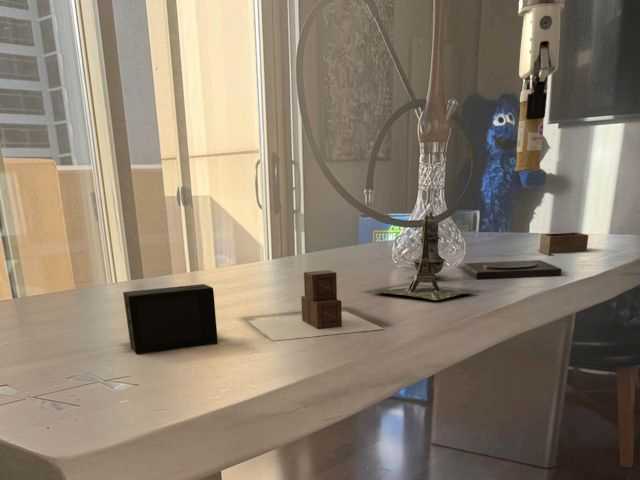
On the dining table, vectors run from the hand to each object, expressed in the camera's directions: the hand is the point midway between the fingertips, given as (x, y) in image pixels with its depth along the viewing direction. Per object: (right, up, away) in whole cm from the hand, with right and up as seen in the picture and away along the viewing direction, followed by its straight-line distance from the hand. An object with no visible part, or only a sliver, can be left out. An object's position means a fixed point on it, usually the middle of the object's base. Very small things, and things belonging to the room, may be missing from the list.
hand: (531, 118), depth 127 cm
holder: (+19, -14, +32) cm, 39 cm away
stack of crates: (-42, -45, -32) cm, 69 cm away
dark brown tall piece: (-18, -29, +2) cm, 35 cm away
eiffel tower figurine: (-23, -36, -13) cm, 44 cm away
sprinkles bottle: (0, -8, +4) cm, 9 cm away
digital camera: (-60, -49, -39) cm, 87 cm away
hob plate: (-2, -26, +6) cm, 27 cm away
